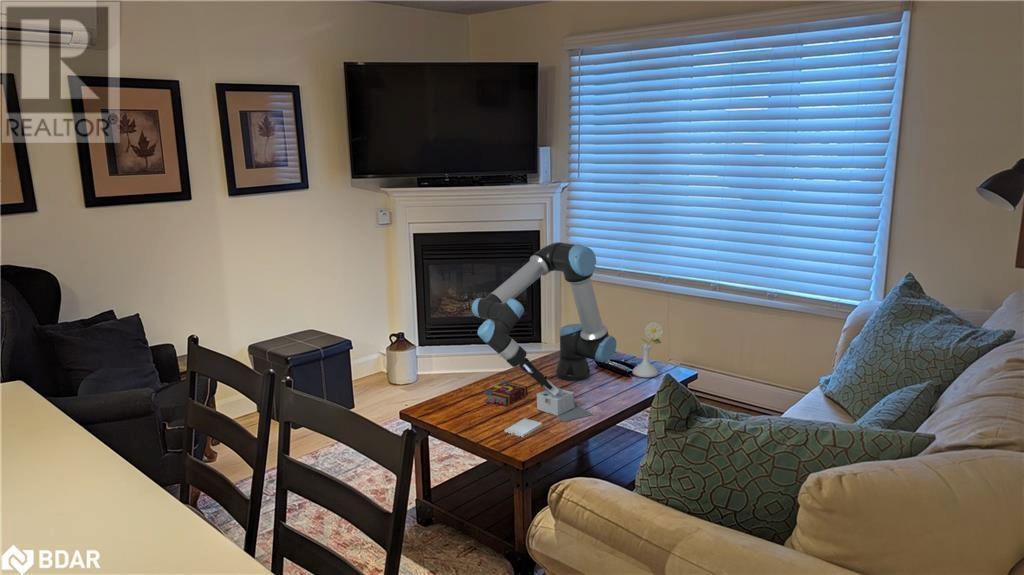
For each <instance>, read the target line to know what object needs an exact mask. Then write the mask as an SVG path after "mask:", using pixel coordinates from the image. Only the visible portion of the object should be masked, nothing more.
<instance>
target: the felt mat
mask: <svg viewBox="0 0 1024 575" xmlns="http://www.w3.org/2000/svg"><path fill="white" fill-rule="evenodd" d="M574 407H575V408H573V409H571V410H569V411H567V412H565V413H562V414H560V415H558V416H557V415H554V414H552V415H553V416H554V417H556V418H557V419H559V420H561V421H563V422H564V423H567V422H571V421H574V420H578V419H582V418H586V417H591V416H594V414H593V413H592V412H590V411H589V410H587V409H585V408H583V407H581V406H579V405H577V404H576V403H574ZM570 420H571V421H570Z"/></svg>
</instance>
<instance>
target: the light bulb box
mask: <svg viewBox="0 0 1024 575" xmlns="http://www.w3.org/2000/svg"><path fill="white" fill-rule="evenodd" d="M555 387H556V388H558V389H559V392H558V393H557V394H556V395H555V396H554V395H553V394H552V393H551V392H550V391H548V390H547V389H545V390H543V391H541V392H540V391H539V392H538V393H536V409H537V410H538V411H541V412H545V413H547V414H551V415H553V414H554V415H557V416H558V415H560V414H562V413H565V412H567V411H569V410H571V409H573V408H575V407H574V404H575V392H574V391H570V390H566V389H563V388H560V387H557V386H555ZM554 415H553V416H554Z"/></svg>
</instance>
